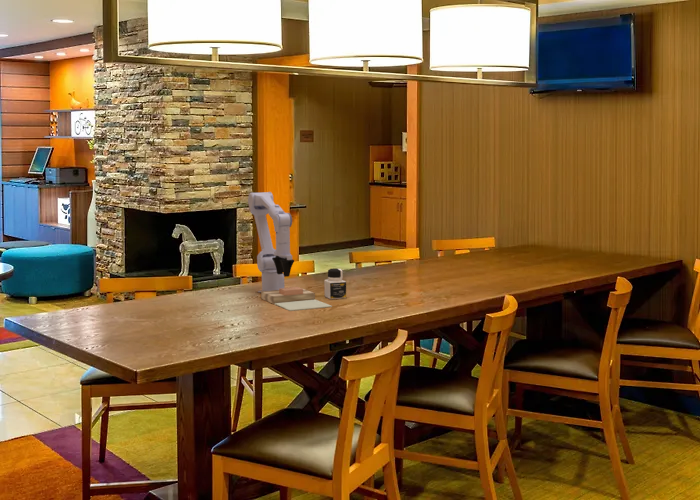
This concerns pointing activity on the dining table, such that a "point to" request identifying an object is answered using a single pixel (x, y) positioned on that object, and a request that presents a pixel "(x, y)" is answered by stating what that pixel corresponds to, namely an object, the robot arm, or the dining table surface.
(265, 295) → the block
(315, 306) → the mat
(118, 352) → the dining table surface
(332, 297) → the medicine bottle
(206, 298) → the dining table surface
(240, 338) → the dining table surface
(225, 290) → the dining table surface
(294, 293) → the block
